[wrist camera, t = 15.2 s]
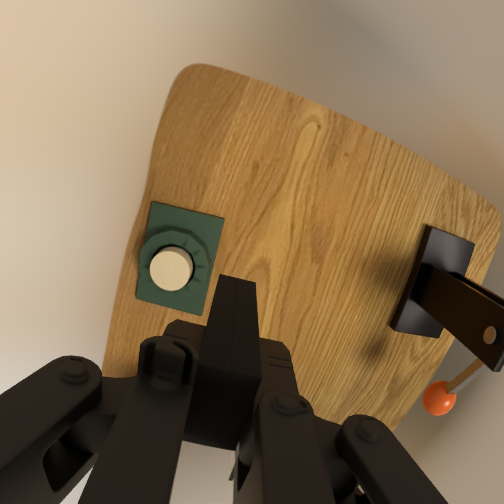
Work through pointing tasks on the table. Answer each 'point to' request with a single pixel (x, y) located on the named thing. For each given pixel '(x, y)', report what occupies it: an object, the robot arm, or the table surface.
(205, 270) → the control block
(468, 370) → the switch lever
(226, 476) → the alarm clock
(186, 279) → the button
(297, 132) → the table surface
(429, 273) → the switch bracket
